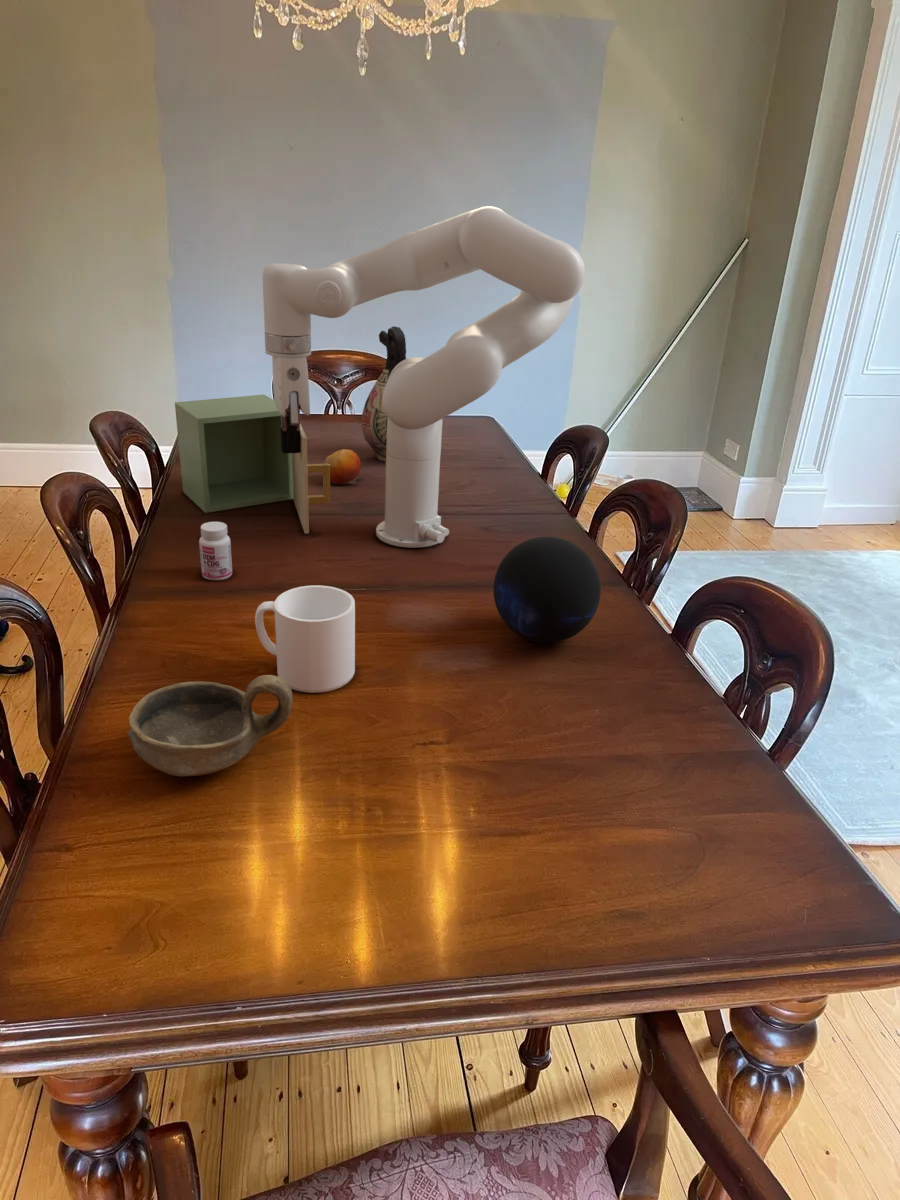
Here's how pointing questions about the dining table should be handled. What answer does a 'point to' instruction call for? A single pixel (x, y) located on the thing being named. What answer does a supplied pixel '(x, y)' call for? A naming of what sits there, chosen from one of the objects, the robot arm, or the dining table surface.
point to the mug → (312, 637)
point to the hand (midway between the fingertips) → (290, 451)
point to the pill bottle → (215, 551)
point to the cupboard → (232, 452)
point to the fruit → (343, 467)
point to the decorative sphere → (547, 589)
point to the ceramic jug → (373, 409)
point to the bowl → (204, 724)
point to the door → (301, 482)
